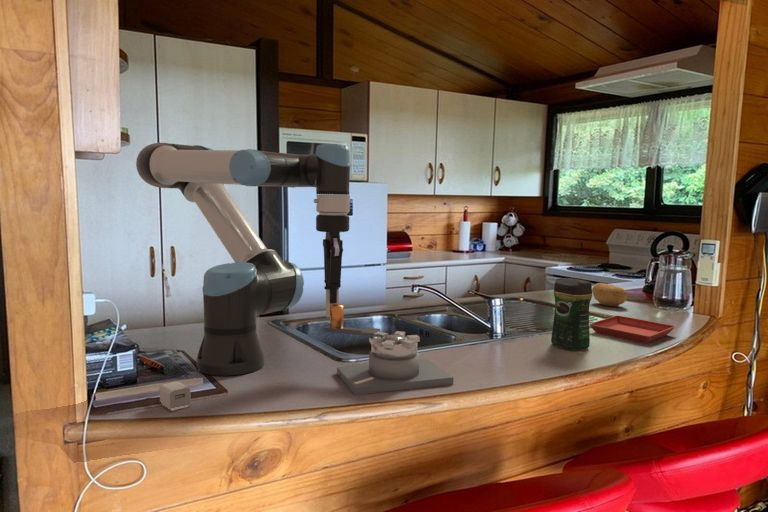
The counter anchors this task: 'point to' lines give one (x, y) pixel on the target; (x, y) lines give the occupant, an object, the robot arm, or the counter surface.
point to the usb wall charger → (174, 395)
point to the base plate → (389, 385)
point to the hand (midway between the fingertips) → (332, 316)
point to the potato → (609, 294)
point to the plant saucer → (631, 328)
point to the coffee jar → (571, 314)
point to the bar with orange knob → (376, 337)
